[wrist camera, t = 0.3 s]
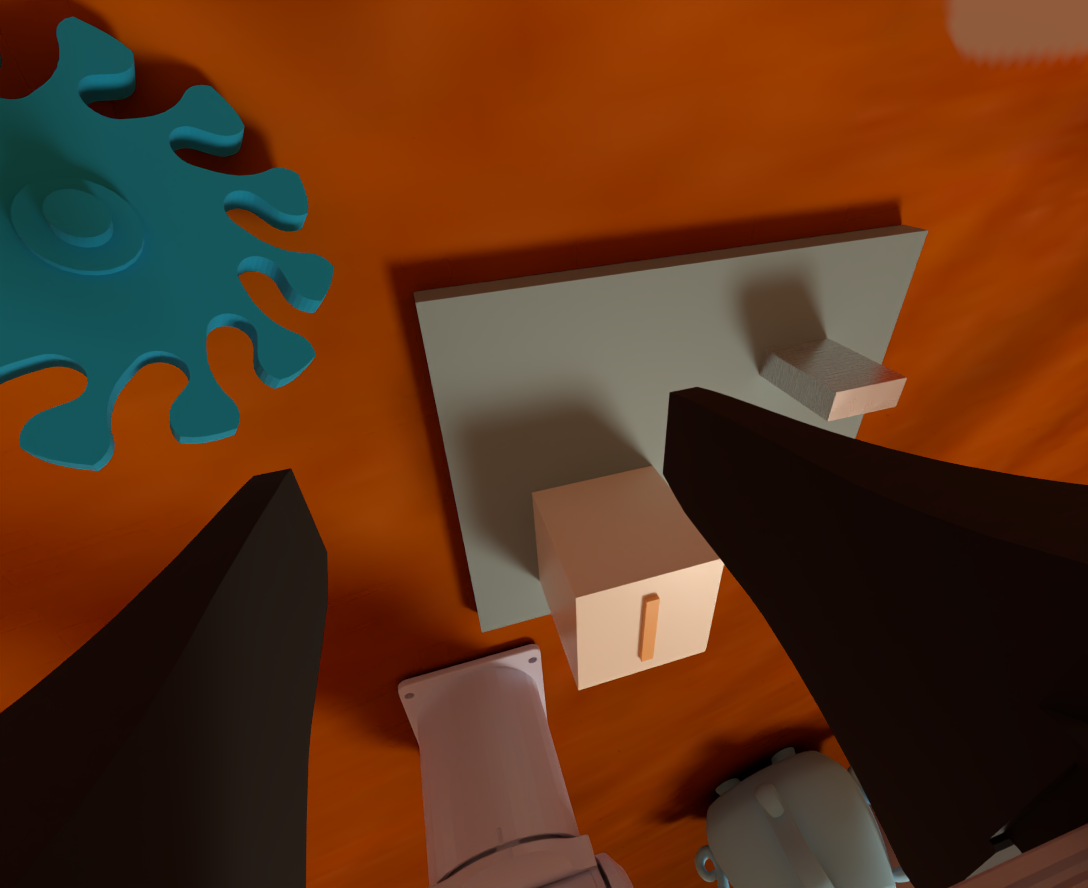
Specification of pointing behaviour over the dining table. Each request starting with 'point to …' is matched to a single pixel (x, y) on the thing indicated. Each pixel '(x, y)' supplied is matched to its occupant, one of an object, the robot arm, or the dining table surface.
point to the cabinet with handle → (623, 574)
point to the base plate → (627, 371)
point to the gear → (135, 250)
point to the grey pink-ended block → (831, 378)
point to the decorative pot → (796, 829)
